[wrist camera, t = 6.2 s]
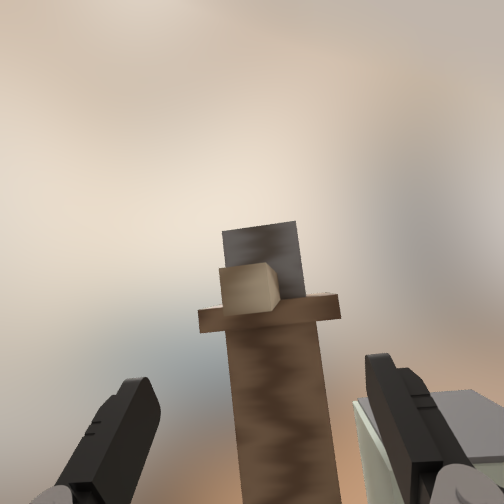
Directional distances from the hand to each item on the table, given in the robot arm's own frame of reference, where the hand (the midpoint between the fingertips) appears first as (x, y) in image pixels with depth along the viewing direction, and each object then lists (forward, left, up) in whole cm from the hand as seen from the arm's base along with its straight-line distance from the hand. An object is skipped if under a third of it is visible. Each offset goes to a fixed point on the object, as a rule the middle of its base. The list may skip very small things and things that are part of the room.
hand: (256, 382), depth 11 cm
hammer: (-1, +11, +2) cm, 12 cm away
